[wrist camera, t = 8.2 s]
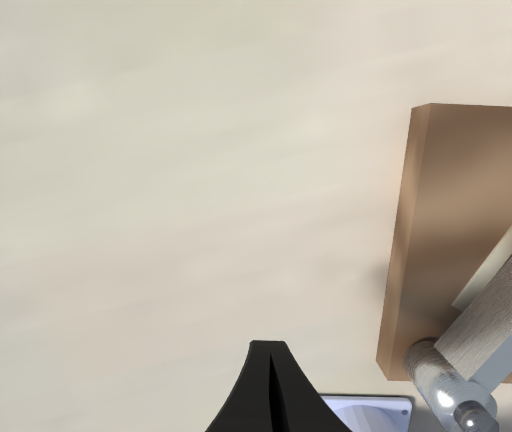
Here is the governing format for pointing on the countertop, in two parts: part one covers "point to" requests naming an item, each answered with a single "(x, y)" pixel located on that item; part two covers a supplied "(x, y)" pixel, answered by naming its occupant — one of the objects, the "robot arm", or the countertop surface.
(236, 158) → the countertop surface
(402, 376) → the base
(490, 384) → the lever
